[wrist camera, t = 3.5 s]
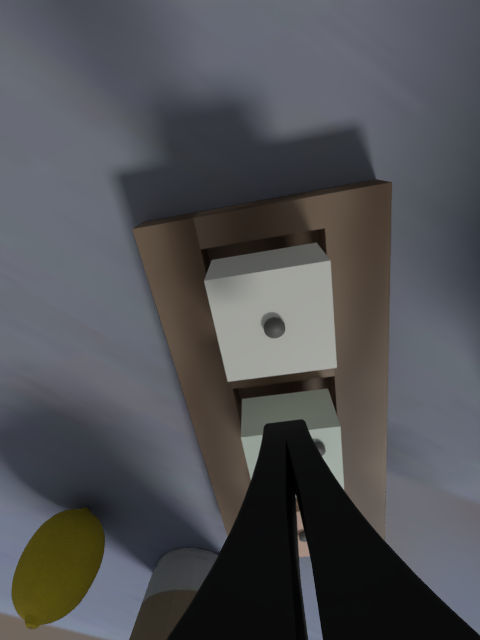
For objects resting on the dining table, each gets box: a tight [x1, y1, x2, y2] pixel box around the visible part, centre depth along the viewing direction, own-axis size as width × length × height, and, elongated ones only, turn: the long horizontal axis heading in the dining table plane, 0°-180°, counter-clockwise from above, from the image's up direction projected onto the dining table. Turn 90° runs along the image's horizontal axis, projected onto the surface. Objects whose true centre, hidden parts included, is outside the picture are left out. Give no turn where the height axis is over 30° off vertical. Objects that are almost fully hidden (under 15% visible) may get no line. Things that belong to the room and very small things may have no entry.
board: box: [132, 179, 392, 540], centre depth 22 cm, size 12×26×2 cm, turn 10°
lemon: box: [12, 507, 105, 629], centre depth 25 cm, size 6×6×8 cm
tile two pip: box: [241, 389, 344, 489], centre depth 19 cm, size 5×5×3 cm
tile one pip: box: [204, 243, 337, 382], centre depth 15 cm, size 5×5×3 cm
